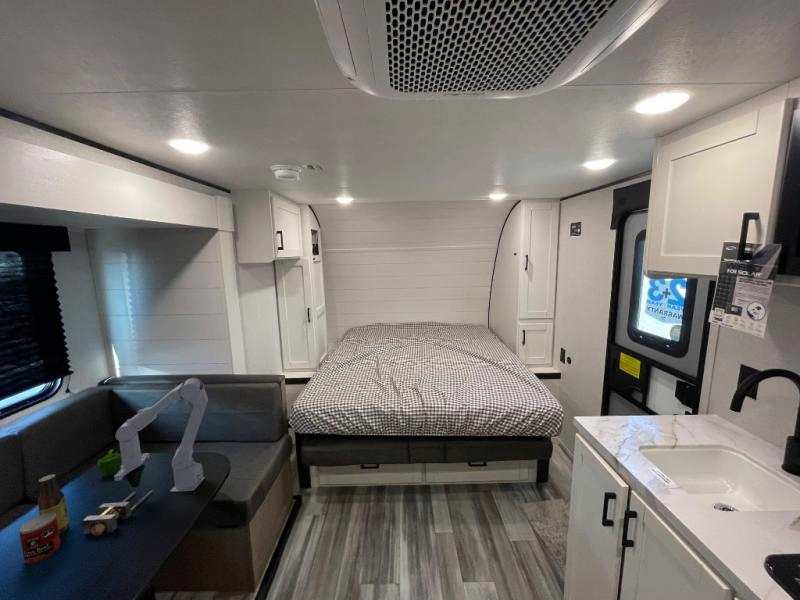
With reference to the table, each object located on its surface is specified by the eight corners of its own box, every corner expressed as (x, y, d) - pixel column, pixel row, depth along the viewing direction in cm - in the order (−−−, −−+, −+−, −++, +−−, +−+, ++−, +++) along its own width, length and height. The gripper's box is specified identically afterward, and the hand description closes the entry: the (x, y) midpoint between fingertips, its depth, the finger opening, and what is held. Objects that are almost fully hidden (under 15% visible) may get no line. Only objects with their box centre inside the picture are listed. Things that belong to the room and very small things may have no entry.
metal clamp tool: (155, 492, 129) (154, 480, 128) (112, 532, 109) (110, 518, 108) (131, 493, 128) (130, 482, 128) (84, 534, 108) (82, 520, 108)
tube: (115, 512, 117) (117, 504, 117) (124, 514, 117) (127, 506, 117) (90, 534, 107) (92, 525, 107) (100, 537, 107) (102, 528, 107)
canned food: (18, 569, 96) (12, 535, 95) (33, 549, 103) (28, 518, 102) (53, 558, 100) (48, 525, 99) (65, 539, 107) (60, 508, 106)
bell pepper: (112, 479, 139) (109, 457, 138) (94, 479, 139) (91, 458, 138) (129, 467, 147) (126, 446, 146) (111, 467, 147) (109, 447, 146)
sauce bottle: (73, 527, 112) (66, 473, 110) (49, 541, 106) (40, 485, 104) (62, 523, 114) (54, 470, 112) (38, 536, 108) (29, 481, 107)
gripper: (135, 443, 130) (139, 475, 132) (103, 465, 116) (109, 500, 117) (152, 442, 131) (157, 473, 132) (123, 463, 116) (128, 498, 118)
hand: (135, 486), depth 125 cm, fingers closed
